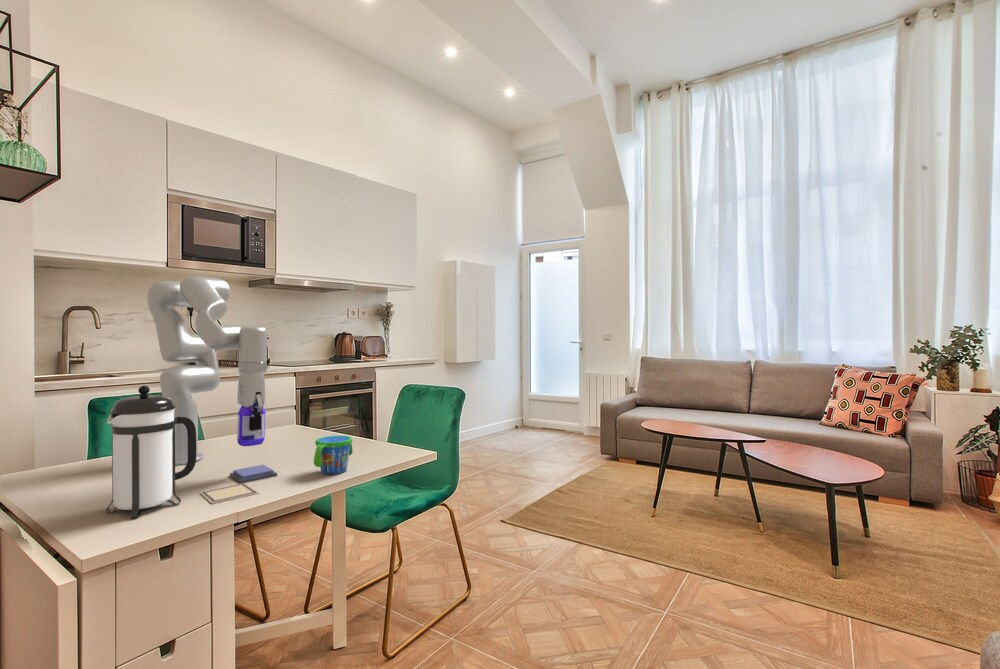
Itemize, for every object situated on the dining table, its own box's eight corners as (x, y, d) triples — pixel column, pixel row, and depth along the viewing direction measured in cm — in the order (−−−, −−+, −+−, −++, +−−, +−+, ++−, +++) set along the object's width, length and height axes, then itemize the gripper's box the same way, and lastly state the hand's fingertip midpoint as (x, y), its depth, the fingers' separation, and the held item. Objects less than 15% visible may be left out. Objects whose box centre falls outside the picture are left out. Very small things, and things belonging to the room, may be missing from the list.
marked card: (199, 493, 127) (199, 492, 127) (244, 484, 135) (244, 482, 135) (212, 504, 120) (212, 502, 120) (258, 493, 128) (258, 491, 128)
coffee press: (173, 515, 112) (173, 387, 112) (91, 523, 108) (91, 390, 107) (197, 491, 129) (196, 380, 129) (127, 497, 124) (126, 382, 124)
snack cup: (339, 463, 157) (339, 432, 157) (364, 467, 152) (364, 435, 152) (301, 476, 143) (301, 442, 143) (328, 481, 138) (327, 445, 138)
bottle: (260, 440, 148) (261, 384, 148) (267, 444, 144) (268, 386, 144) (234, 444, 143) (235, 386, 142) (240, 448, 139) (241, 388, 138)
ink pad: (229, 475, 143) (229, 470, 143) (264, 469, 150) (264, 463, 150) (240, 483, 136) (240, 477, 136) (277, 475, 143) (277, 470, 143)
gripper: (229, 366, 146) (228, 425, 147) (249, 371, 134) (248, 435, 135) (255, 365, 152) (254, 421, 152) (276, 369, 140) (275, 431, 140)
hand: (251, 427), depth 143 cm, fingers closed on bottle, 5 cm apart
